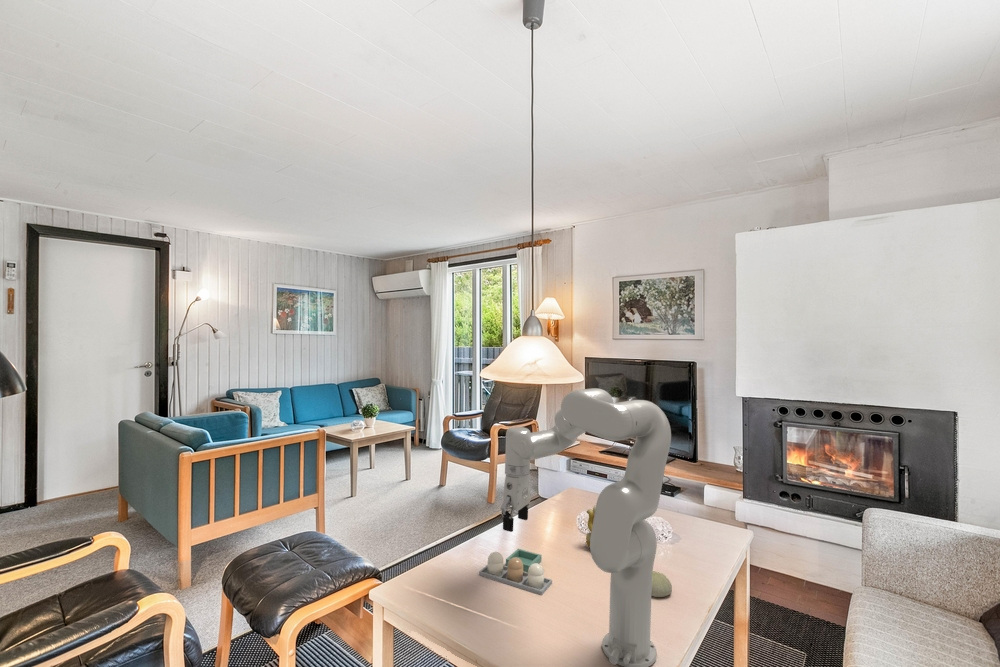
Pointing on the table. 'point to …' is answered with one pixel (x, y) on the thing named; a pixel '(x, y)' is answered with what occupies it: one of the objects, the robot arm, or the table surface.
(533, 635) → the table surface
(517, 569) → the brown egg
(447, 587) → the table surface
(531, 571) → the cream egg right
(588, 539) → the decorative figurine
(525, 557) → the egg holder
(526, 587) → the egg carton
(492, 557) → the cream egg left
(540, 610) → the table surface
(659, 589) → the sea urchin shell
